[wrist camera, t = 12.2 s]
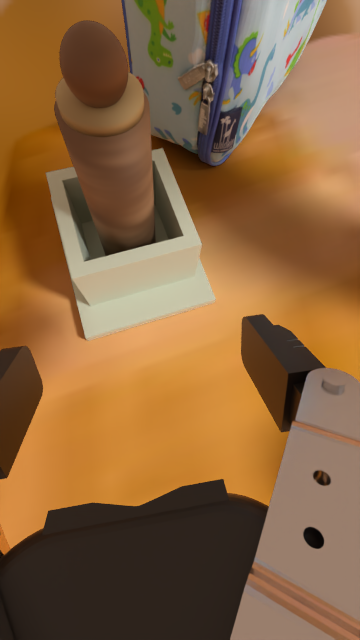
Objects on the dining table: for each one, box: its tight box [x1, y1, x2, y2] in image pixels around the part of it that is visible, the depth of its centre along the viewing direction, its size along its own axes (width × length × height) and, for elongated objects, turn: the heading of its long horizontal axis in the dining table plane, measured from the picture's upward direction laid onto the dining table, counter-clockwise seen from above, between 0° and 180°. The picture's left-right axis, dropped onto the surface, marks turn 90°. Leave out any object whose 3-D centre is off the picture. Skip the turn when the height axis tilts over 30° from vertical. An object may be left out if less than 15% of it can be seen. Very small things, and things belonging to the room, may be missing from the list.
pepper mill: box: [54, 21, 156, 256], centre depth 18 cm, size 4×4×15 cm
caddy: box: [46, 148, 216, 341], centre depth 23 cm, size 11×14×6 cm
